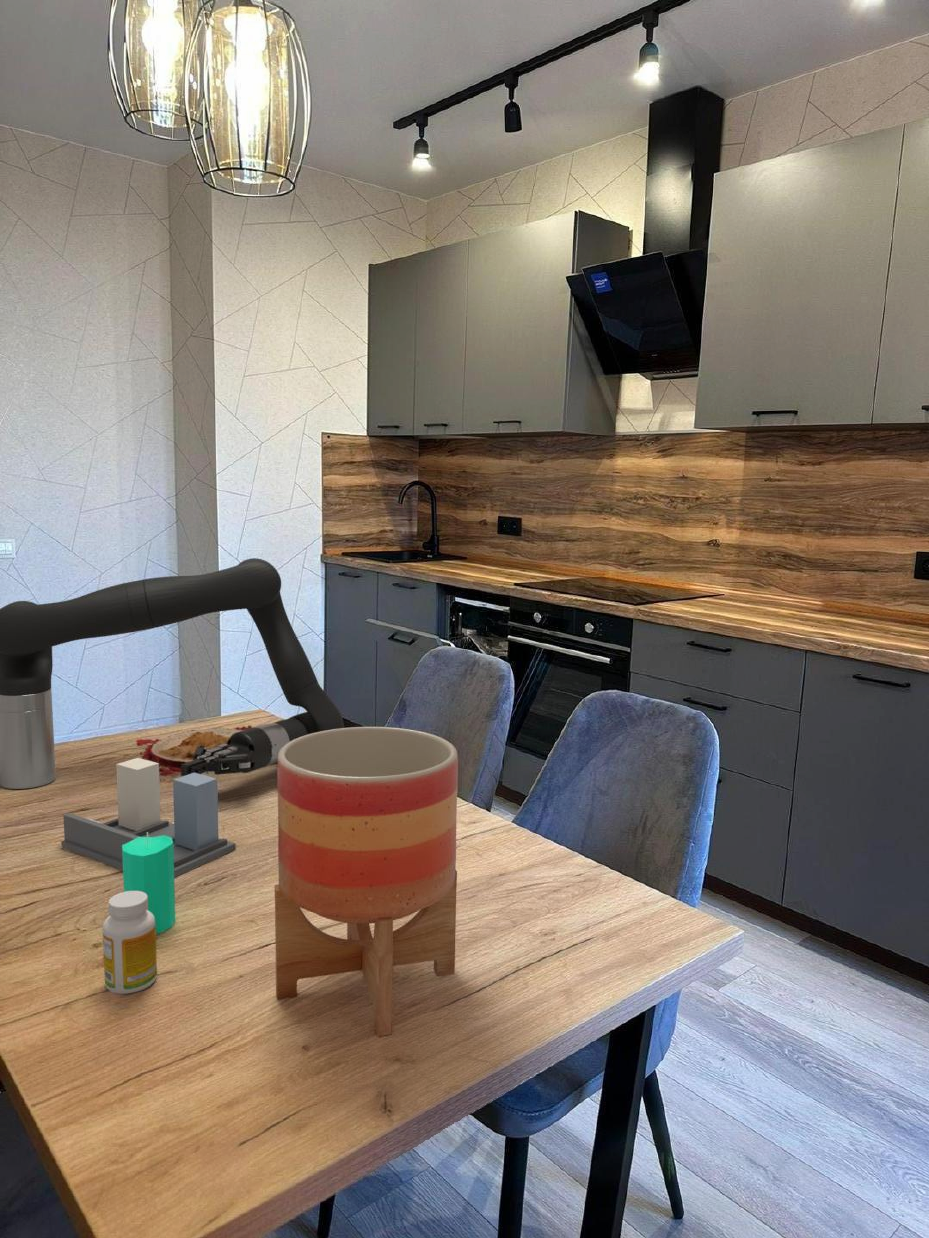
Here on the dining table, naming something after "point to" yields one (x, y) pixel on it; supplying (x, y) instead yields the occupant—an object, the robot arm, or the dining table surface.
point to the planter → (366, 856)
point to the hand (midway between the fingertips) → (184, 771)
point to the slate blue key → (195, 811)
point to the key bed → (110, 837)
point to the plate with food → (184, 747)
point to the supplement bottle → (129, 944)
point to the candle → (152, 876)
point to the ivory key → (138, 794)
